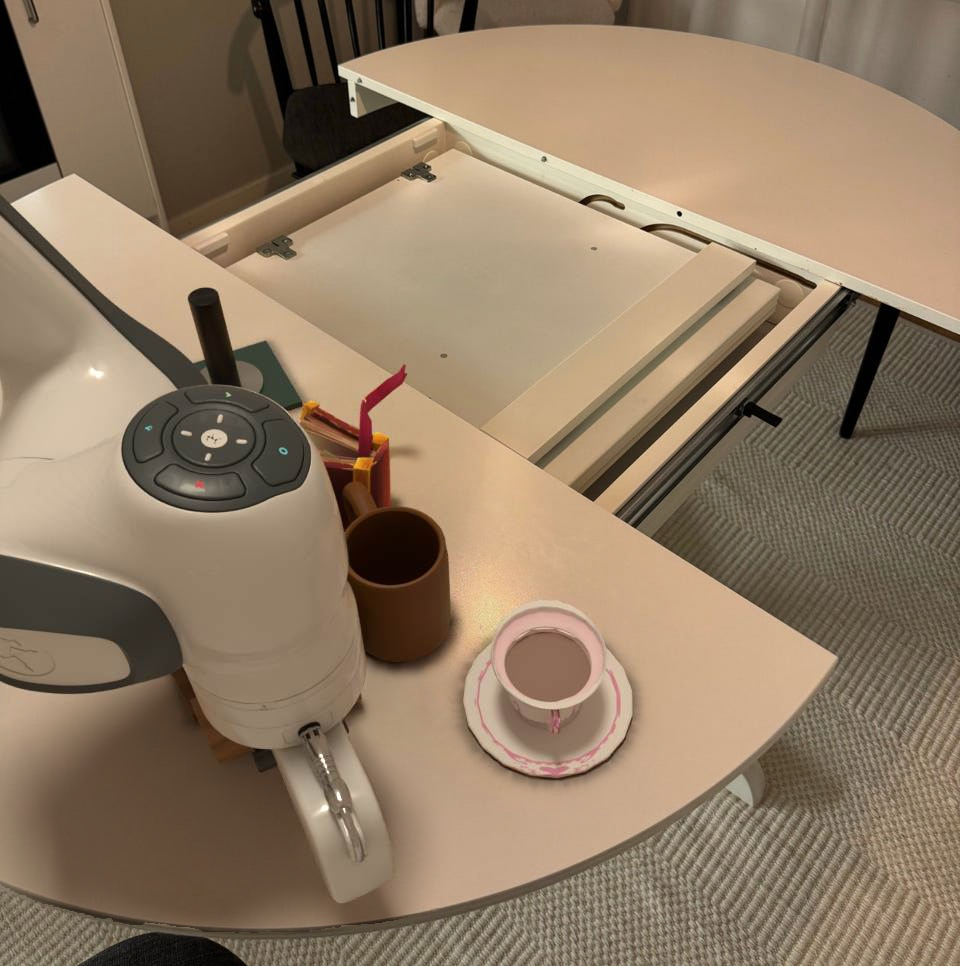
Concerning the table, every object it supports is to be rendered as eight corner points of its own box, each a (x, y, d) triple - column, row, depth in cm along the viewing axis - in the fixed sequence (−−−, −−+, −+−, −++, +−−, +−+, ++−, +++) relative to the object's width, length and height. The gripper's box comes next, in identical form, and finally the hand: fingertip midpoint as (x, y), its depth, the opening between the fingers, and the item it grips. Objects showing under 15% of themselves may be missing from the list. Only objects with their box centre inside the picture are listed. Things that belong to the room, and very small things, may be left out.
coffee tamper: (202, 422, 87) (174, 330, 79) (181, 378, 91) (153, 286, 83) (274, 398, 89) (254, 306, 81) (250, 356, 93) (229, 264, 85)
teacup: (458, 634, 72) (456, 584, 67) (617, 624, 72) (626, 574, 68) (468, 785, 64) (467, 741, 59) (646, 773, 64) (659, 729, 60)
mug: (314, 565, 76) (297, 486, 69) (401, 531, 79) (393, 450, 72) (375, 682, 69) (363, 607, 62) (469, 640, 71) (467, 563, 65)
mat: (186, 445, 85) (185, 440, 85) (157, 379, 91) (155, 374, 91) (303, 405, 89) (302, 401, 88) (267, 344, 95) (266, 339, 94)
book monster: (268, 515, 80) (353, 433, 87) (357, 561, 77) (437, 472, 84) (252, 420, 72) (347, 339, 79) (351, 466, 69) (439, 378, 77)
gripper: (418, 801, 44) (431, 906, 54) (271, 504, 56) (304, 635, 66) (288, 865, 42) (326, 961, 52) (165, 542, 54) (215, 671, 65)
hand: (313, 776), depth 59 cm, fingers closed
